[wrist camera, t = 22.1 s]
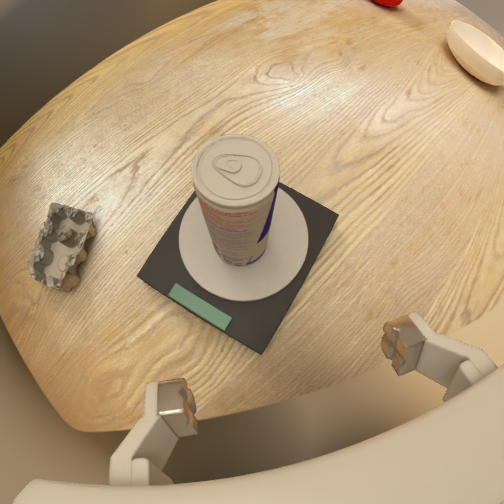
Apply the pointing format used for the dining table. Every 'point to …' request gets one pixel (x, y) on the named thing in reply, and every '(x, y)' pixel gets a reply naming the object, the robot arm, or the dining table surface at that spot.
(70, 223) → the egg carton
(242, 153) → the beverage can
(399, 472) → the robot arm
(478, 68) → the bowl
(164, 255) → the scale
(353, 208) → the dining table surface
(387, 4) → the tomato
